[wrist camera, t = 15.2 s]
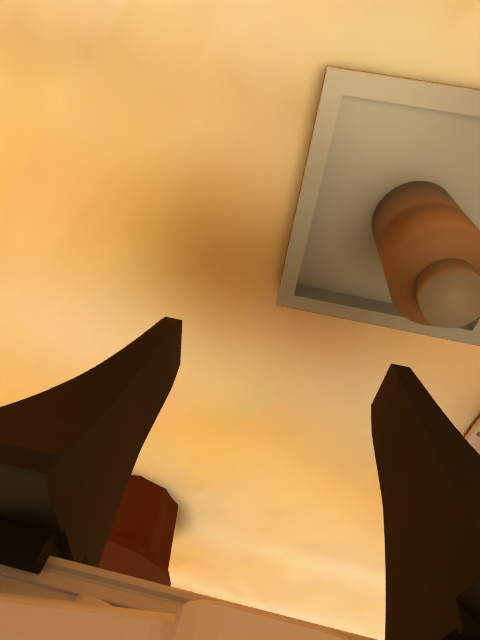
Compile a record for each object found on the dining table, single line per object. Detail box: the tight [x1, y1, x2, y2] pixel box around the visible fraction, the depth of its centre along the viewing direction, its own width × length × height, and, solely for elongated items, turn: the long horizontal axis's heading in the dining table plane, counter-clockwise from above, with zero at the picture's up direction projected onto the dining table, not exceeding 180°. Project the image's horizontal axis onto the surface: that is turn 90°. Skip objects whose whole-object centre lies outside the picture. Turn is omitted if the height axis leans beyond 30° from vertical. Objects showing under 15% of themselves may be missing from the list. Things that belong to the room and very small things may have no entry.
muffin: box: [98, 475, 178, 586], centre depth 35 cm, size 12×11×10 cm
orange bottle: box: [372, 181, 480, 328], centre depth 15 cm, size 4×4×7 cm
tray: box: [276, 66, 480, 346], centre depth 18 cm, size 11×11×2 cm
